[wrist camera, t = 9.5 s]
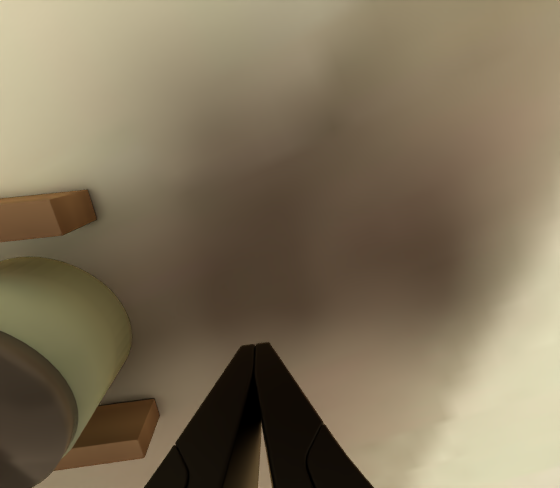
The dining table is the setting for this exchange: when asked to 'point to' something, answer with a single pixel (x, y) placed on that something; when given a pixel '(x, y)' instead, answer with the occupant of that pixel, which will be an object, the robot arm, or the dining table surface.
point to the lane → (106, 419)
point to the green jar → (52, 361)
